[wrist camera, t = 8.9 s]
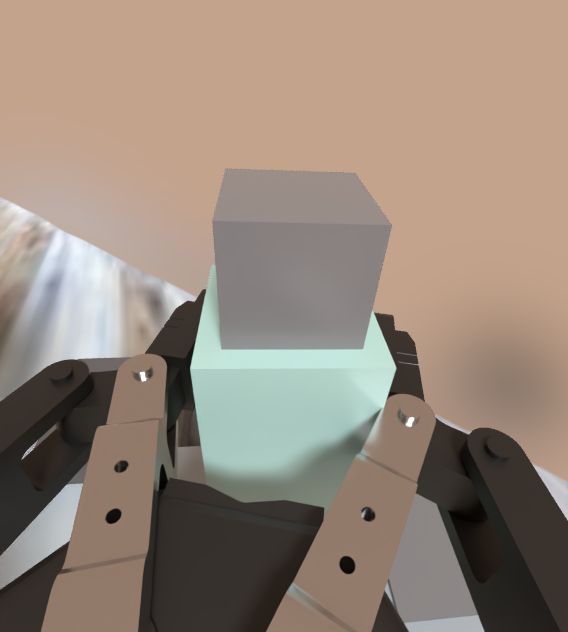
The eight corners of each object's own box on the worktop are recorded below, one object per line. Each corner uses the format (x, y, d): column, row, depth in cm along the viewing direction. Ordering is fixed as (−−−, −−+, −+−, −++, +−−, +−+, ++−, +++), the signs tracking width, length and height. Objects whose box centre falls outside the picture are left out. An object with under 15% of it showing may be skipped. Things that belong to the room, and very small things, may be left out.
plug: (219, 574, 14) (171, 234, 6) (227, 468, 18) (203, 160, 10) (332, 569, 15) (436, 240, 6) (318, 466, 18) (373, 167, 10)
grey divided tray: (152, 755, 17) (126, 741, 13) (184, 493, 26) (173, 444, 23) (562, 700, 19) (633, 675, 15) (454, 475, 28) (483, 428, 25)
